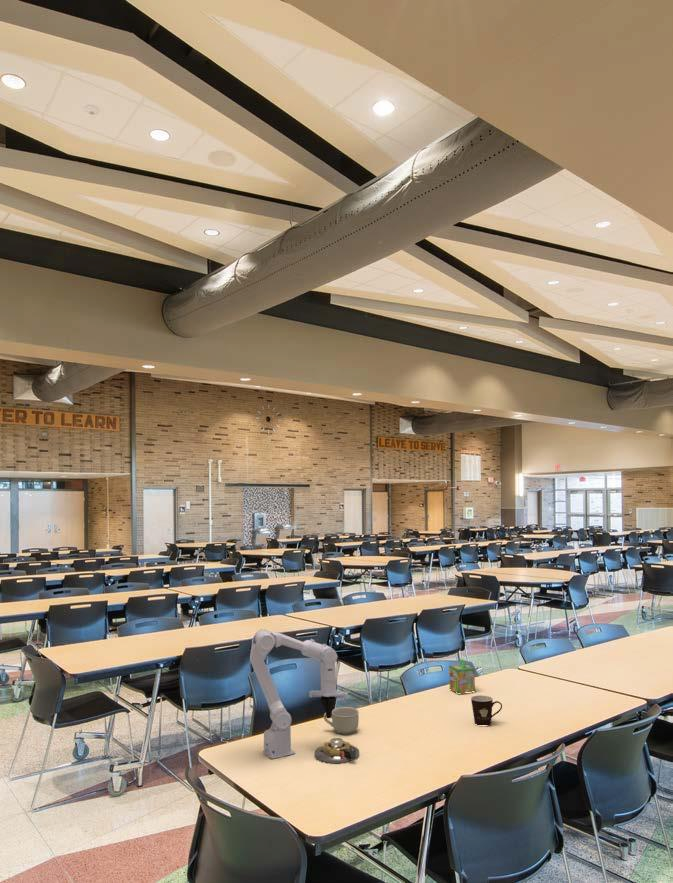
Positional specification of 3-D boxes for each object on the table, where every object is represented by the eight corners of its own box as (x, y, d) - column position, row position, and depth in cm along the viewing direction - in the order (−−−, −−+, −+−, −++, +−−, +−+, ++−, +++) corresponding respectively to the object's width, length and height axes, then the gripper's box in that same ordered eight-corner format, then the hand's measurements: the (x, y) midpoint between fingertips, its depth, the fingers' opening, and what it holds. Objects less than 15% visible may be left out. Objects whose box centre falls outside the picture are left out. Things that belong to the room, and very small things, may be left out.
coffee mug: (469, 725, 260) (468, 700, 261) (475, 719, 267) (474, 694, 269) (498, 729, 255) (497, 703, 256) (503, 723, 262) (502, 697, 263)
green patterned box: (449, 690, 312) (448, 658, 313) (466, 688, 314) (465, 656, 316) (458, 695, 303) (457, 662, 304) (476, 693, 306) (474, 660, 307)
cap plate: (327, 767, 221) (327, 751, 222) (306, 752, 235) (306, 737, 235) (367, 757, 229) (367, 742, 229) (345, 744, 243) (344, 729, 243)
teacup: (362, 728, 260) (361, 707, 261) (355, 737, 250) (355, 715, 251) (328, 725, 264) (328, 705, 265) (321, 734, 253) (320, 713, 254)
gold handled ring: (318, 751, 233) (318, 742, 233) (338, 744, 238) (338, 736, 239) (344, 762, 221) (344, 753, 222) (364, 756, 227) (364, 746, 227)
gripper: (306, 681, 241) (307, 719, 239) (344, 683, 238) (345, 721, 236) (311, 677, 248) (312, 713, 246) (348, 678, 244) (349, 715, 243)
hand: (329, 717), depth 242 cm, fingers closed
